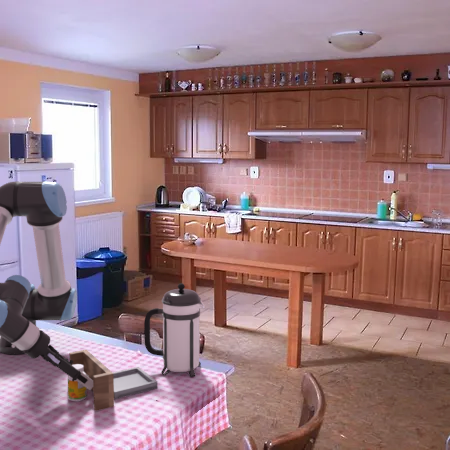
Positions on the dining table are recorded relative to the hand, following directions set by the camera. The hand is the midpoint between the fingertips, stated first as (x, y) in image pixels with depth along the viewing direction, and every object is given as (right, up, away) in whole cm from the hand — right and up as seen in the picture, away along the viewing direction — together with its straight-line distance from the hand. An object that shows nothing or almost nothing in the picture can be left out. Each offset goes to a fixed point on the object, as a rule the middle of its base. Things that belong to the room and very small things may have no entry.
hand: (89, 382), depth 168 cm
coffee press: (+25, -2, +19) cm, 32 cm away
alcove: (0, -4, +1) cm, 4 cm away
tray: (+10, -3, +7) cm, 13 cm away
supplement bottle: (-3, -4, -1) cm, 6 cm away
